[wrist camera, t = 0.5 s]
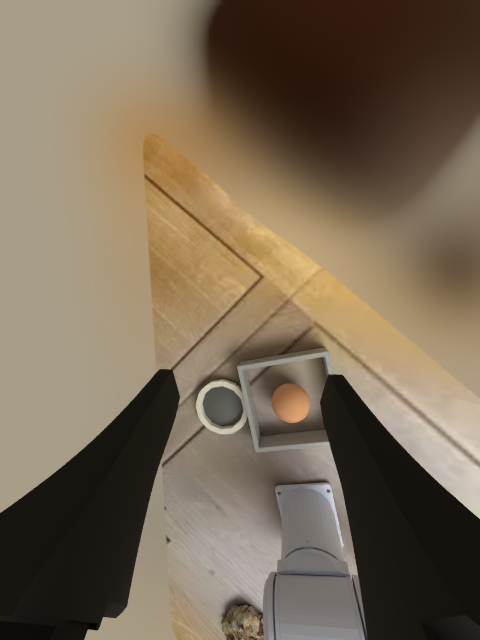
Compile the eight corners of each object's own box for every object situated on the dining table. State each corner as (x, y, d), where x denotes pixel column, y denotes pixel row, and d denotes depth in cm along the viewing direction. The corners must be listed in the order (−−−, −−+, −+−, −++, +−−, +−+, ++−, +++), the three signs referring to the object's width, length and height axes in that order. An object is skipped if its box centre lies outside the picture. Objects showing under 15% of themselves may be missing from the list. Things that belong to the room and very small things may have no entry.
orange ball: (311, 410, 33) (315, 428, 28) (276, 414, 34) (275, 432, 29) (304, 376, 33) (307, 388, 28) (269, 381, 34) (267, 393, 29)
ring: (254, 426, 35) (253, 431, 34) (205, 432, 36) (202, 436, 35) (243, 375, 35) (241, 377, 33) (194, 383, 36) (191, 385, 35)
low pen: (342, 431, 32) (348, 444, 29) (258, 440, 35) (255, 452, 32) (324, 347, 32) (328, 351, 29) (241, 361, 35) (237, 366, 32)
